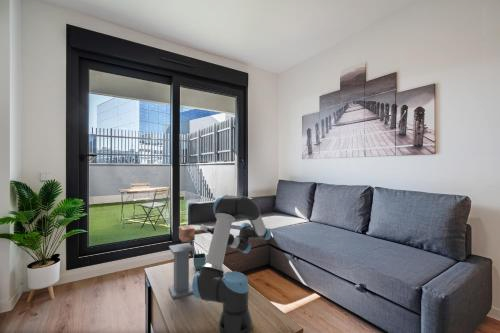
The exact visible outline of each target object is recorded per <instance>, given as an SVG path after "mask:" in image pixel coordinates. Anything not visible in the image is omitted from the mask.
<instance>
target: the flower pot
mask: <svg viewBox="0 0 500 333" xmlns="http://www.w3.org/2000/svg"><path fill="white" fill-rule="evenodd" d="M206 259H207V256H206V253H205V252H204V253H203V252H202V253H195V254H194V253H193V255H192V261H193V266H194V269H195V271H200V270H201V267H202V266H203V265H205V263H206Z"/></svg>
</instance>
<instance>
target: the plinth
mask: <svg viewBox="0 0 500 333" xmlns="http://www.w3.org/2000/svg"><path fill="white" fill-rule="evenodd" d="M168 248H169V250H170V251H171V253H172V254H173V285H170V286H168V291H169V293H170V296H171V298H172V300H174V299H177V298H178V299H179V298H182V297H185V296H190V295H192V294H193V290H192V284H190V282H189V281H190V277H189V276H190V262H189V261H190V252H192V251H195V248H194V246H193V245H192V244H191V243H190V242H183V243H179V244H178V243H177V244H172V245H168ZM193 295H194V294H193Z"/></svg>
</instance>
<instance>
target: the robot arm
mask: <svg viewBox="0 0 500 333" xmlns="http://www.w3.org/2000/svg"><path fill="white" fill-rule="evenodd" d="M213 214H214V216H215V218H216V221H215V226H214V227H215V229H213V230H212V229H210V228H211V227H209V226H206V225H204V224H203V223H202V224H201V225H200V227H199V229H202V230H204V231H206V232H208V233H207V234H211V235H212V237H211V240H210V245H209V248H208V252H207V256H206V262H205V265H203V266H202V267H201V269H199V270H197V271H196V272H195V274H194V276H193V278H192V283H191V287H192V290H193V296H194V297H195V298H196V299H200V300H202V301H209V302H215V303H220V304H222V312H221V314H220V318H219V321H218V329H219V332H220V333H250V332H251V331H252V327H253V324H252V323H253V320H252V316H251V314H250V311H249V290H250V288H249V280H248V277H247V276H246V275H245V274H243V273H242V272H240V271H236V270H234V271H233V270H232V271H226V272H225V270H224V268H223V264H224V259H225V255H226V251H227V247H230V248H231V249H235V250H237V251H238V252H241V253H243V254H248V253H250V251H251V249H252V244H251V243H250V242H249V241H250V239H256V240H257V239H258V240H259V239H260V240H263V241H264V240H265V241H266V240H270V239H271V234H272V230H271V228H268V227H266V226H265V223H264V220H263V218H262V214H261V209H260V206H258V204H257V203H256V202H255V201H254V200H253V199H251V198H250V197H248V196H244V195H228V194H225V195H219V196H218V197H216V199H215V200H214V203H213ZM237 217H239V218H240V217H241V218H242V217H243V218H245V219H246V220H248V221H249V223H248V222H242V223H241V225H240V229H239V233H238V236H236V235H234V234H232V233H231V228H232V223H234V222H235V221H236V218H237Z"/></svg>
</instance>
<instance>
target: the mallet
mask: <svg viewBox="0 0 500 333" xmlns="http://www.w3.org/2000/svg"><path fill="white" fill-rule="evenodd" d="M209 228H210V229H212V230H213V229H215V226H212V227H209ZM203 234H209V233H208V232H206V231H204V230H202V229H200V228H195V227H194V226H192V224H191V225H190V224H189V225H188V224H187V225H181V226H178V239H179V240H180V241H181V243H188V242H191V241H195V240H196V239H195V236H196V235H203Z"/></svg>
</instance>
